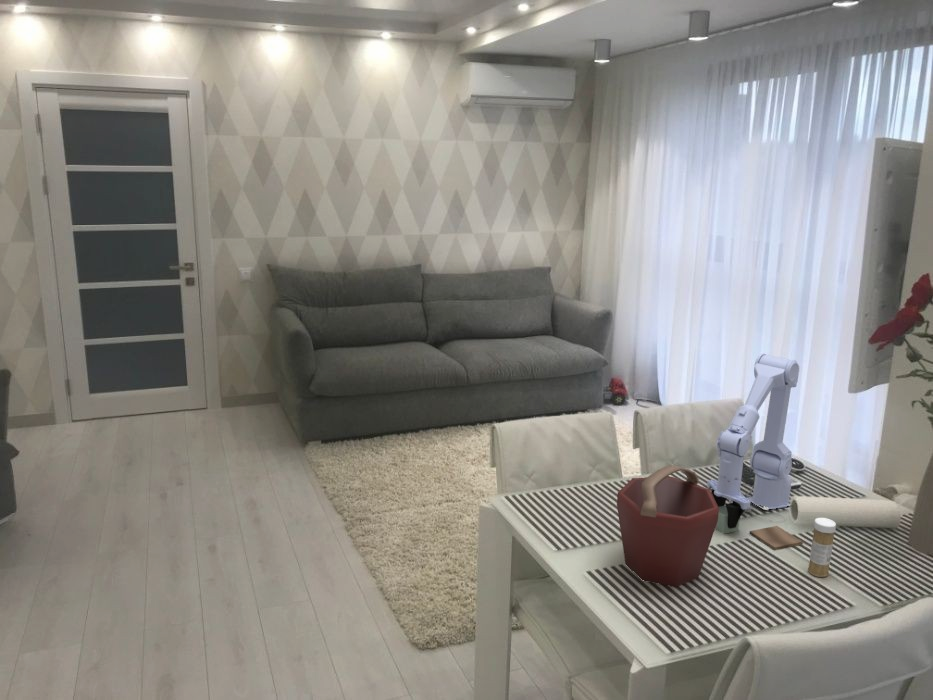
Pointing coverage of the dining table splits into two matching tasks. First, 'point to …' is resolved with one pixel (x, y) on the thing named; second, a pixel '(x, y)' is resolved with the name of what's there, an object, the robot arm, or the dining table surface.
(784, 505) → the robot arm
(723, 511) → the green cube
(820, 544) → the sprinkles bottle
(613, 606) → the dining table surface
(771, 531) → the walnut board
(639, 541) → the bucket
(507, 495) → the dining table surface
